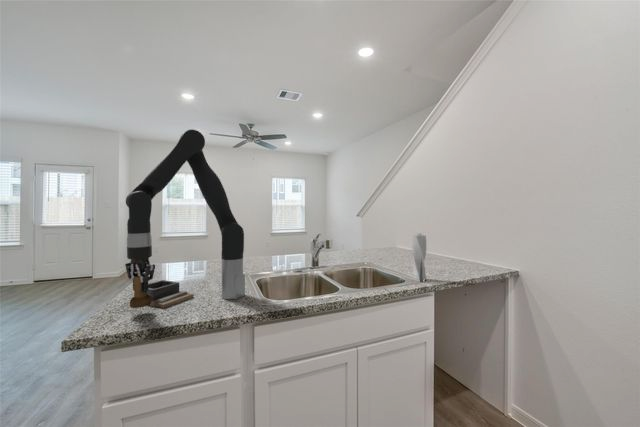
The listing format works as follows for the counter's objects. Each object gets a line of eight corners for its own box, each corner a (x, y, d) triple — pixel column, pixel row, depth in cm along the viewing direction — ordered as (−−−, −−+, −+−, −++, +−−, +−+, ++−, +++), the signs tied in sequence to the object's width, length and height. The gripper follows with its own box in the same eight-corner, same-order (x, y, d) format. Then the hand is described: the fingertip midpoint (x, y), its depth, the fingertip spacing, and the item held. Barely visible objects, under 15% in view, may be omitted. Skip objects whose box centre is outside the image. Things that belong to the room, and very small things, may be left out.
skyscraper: (408, 279, 144) (408, 230, 144) (416, 277, 149) (416, 230, 148) (421, 282, 137) (422, 231, 137) (429, 280, 142) (430, 230, 142)
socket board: (193, 297, 112) (193, 283, 112) (163, 308, 99) (163, 293, 99) (162, 291, 120) (162, 279, 120) (131, 301, 107) (131, 287, 107)
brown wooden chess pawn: (140, 308, 90) (139, 258, 90) (125, 307, 91) (124, 258, 91) (155, 302, 97) (154, 255, 96) (141, 301, 98) (140, 255, 98)
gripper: (162, 244, 94) (163, 290, 95) (137, 243, 100) (138, 286, 100) (141, 247, 88) (142, 296, 88) (116, 245, 93) (117, 291, 93)
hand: (140, 290), depth 94 cm, fingers closed on brown wooden chess pawn, 4 cm apart
